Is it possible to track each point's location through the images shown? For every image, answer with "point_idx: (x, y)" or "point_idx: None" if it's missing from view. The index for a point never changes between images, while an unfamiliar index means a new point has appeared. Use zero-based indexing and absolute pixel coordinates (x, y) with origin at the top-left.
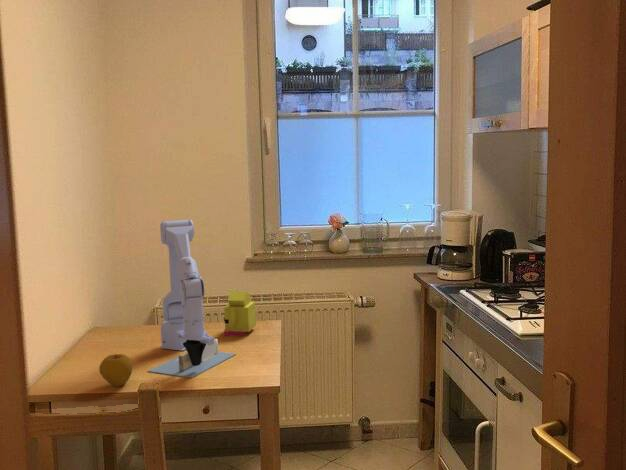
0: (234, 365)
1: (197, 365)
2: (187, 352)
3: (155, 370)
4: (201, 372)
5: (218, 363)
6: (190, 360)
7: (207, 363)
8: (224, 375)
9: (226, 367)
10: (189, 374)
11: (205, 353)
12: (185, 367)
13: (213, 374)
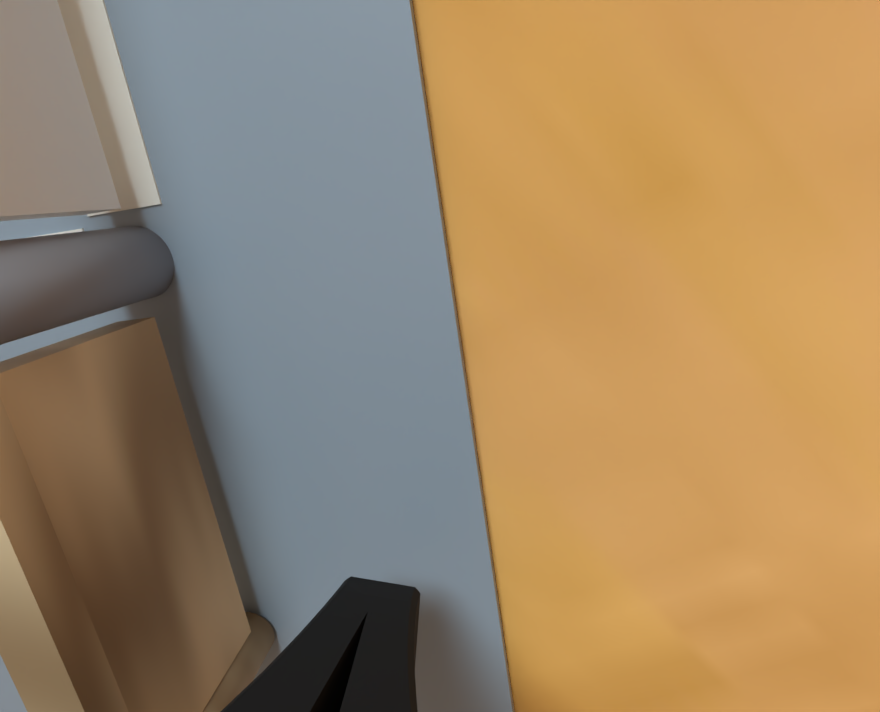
0: (759, 25)
1: (232, 385)
2: (17, 669)
3: (11, 689)
4: (491, 564)
5: (430, 136)
6: (164, 544)
7: (284, 247)
8: (874, 506)
9: (676, 200)
10: (415, 671)
11: (16, 93)
12: (237, 605)
13: (679, 532)
